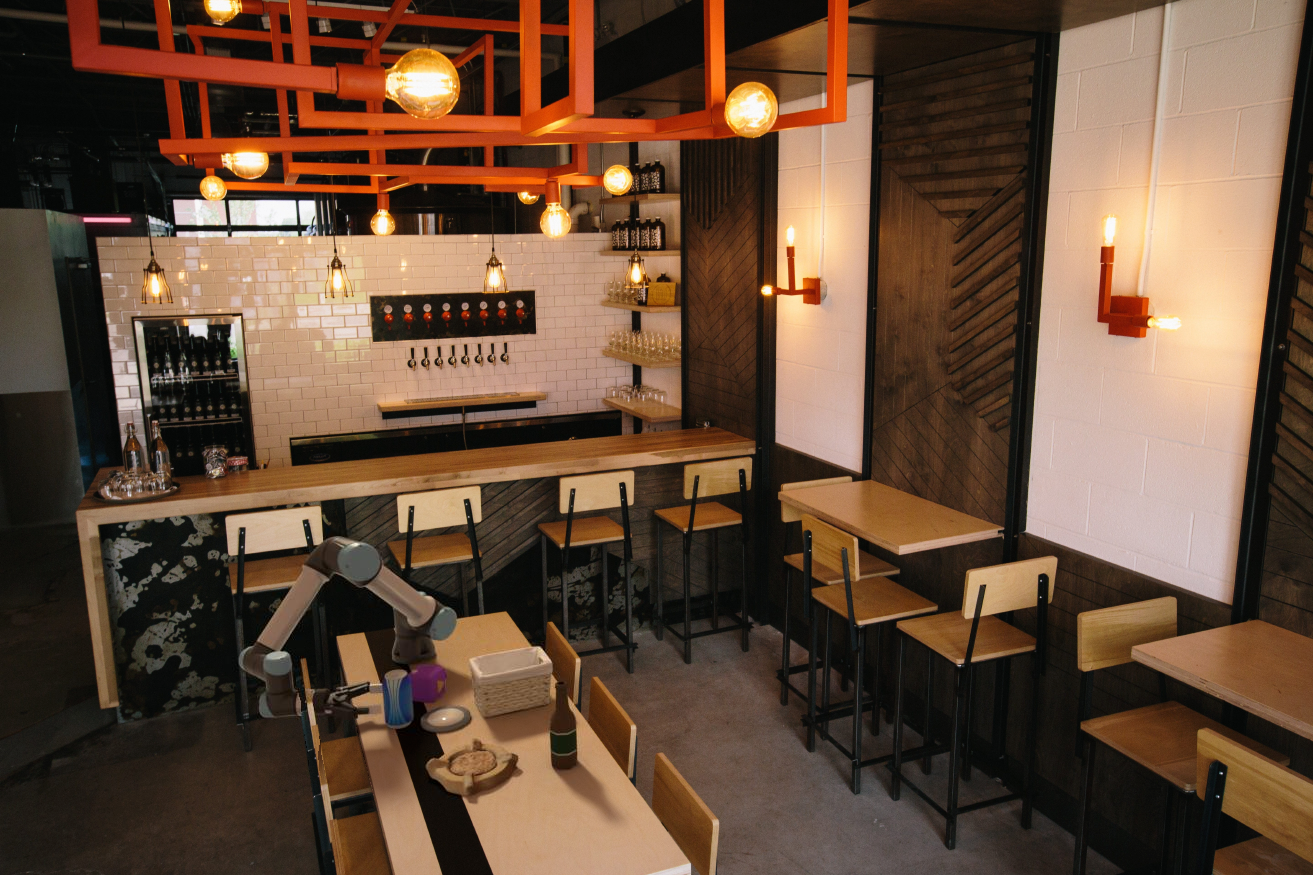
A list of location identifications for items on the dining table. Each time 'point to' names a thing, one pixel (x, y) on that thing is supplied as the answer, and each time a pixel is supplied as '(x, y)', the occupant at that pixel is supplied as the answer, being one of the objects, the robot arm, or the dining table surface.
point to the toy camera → (427, 683)
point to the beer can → (397, 699)
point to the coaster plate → (445, 719)
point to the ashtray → (473, 768)
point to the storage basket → (511, 680)
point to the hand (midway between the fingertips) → (386, 697)
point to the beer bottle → (563, 731)
